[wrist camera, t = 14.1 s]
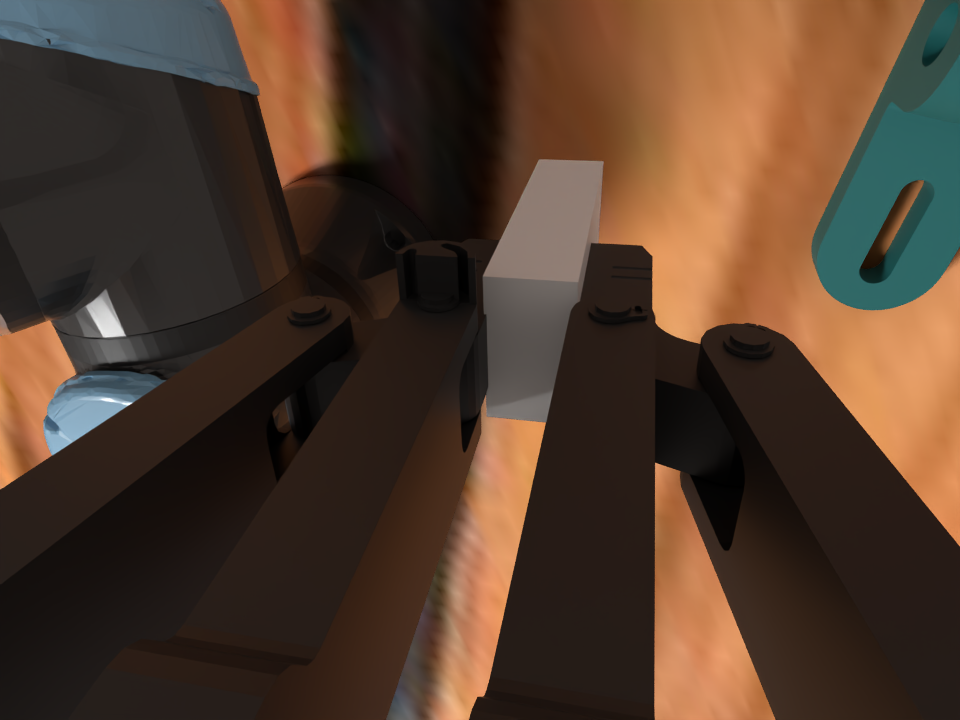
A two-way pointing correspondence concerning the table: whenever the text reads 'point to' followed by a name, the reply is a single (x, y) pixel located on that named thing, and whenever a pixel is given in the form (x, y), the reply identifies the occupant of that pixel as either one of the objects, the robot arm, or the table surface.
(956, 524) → the table surface
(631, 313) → the robot arm
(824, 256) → the bracket
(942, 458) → the table surface
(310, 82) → the table surface
